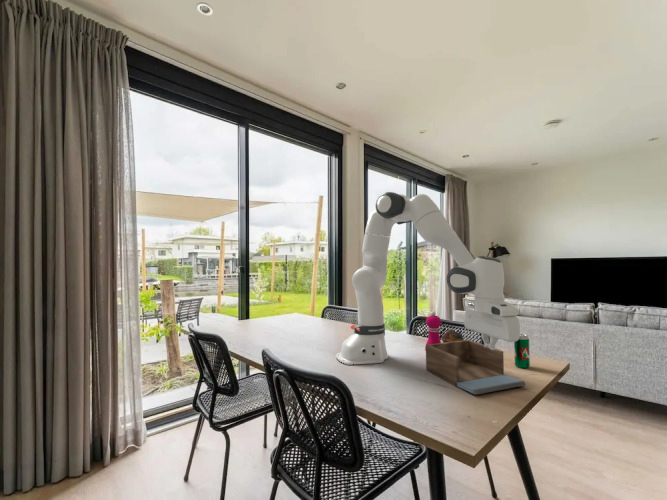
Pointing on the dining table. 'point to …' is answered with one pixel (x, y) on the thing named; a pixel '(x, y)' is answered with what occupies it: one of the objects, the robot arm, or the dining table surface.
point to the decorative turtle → (451, 336)
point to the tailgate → (490, 384)
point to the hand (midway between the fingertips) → (489, 348)
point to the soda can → (522, 352)
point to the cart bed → (463, 361)
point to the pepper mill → (433, 329)
